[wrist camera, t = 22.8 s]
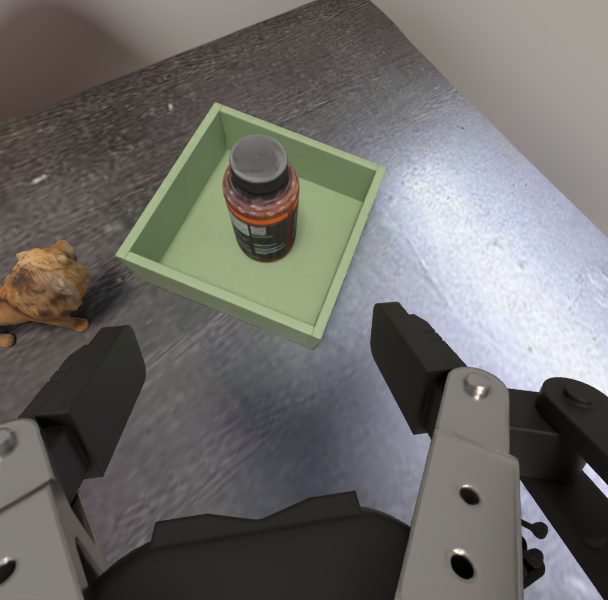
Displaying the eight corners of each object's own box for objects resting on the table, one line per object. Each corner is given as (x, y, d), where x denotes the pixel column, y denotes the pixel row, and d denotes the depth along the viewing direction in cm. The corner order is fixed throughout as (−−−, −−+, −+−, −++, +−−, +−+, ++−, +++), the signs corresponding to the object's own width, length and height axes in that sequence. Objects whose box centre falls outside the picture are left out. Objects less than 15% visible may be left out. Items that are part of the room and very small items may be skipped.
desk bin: (143, 280, 30) (114, 255, 25) (224, 145, 36) (215, 101, 30) (313, 350, 30) (320, 339, 24) (370, 202, 35) (386, 167, 30)
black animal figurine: (511, 504, 27) (562, 527, 22) (529, 534, 27) (584, 565, 22) (445, 547, 26) (484, 582, 21) (462, 581, 25) (505, 624, 20)
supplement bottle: (280, 203, 33) (281, 111, 23) (305, 251, 32) (319, 176, 21) (227, 223, 32) (201, 135, 21) (250, 273, 31) (235, 206, 20)
